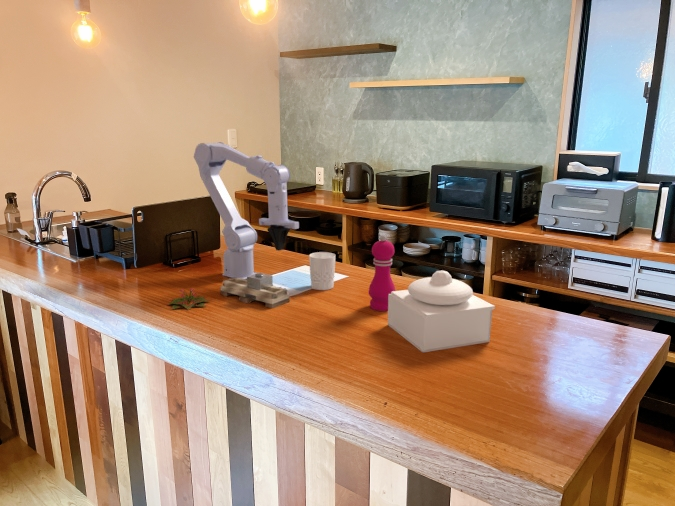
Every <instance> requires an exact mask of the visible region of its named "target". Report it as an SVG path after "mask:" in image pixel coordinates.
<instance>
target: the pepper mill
mask: <svg viewBox="0 0 675 506" xmlns="http://www.w3.org/2000/svg"><path fill="white" fill-rule="evenodd" d="M379 239H380V240H378V241H376V242H375V243H373V245H372V247H371V254H372V256H373V257H374V258H373V265H374V268H375V270H374V275H373V278H372V280H371V282H370V284H369V288H368V296H369V297H370V298H371V299H370V300H369V307H370V309H372V310H374V311H379V312H386V311H387V312H388V296H389V294H391V292H392V291H396V286H395V284H394V282H393V279H392V276H391V266H392V265H393V256H394V255H395V246H394V244H393V243H392V242H390V241H389V240H387V239H388V238H387V235H386V234H382V235H380V238H379Z"/></svg>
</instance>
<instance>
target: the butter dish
mask: <svg viewBox="0 0 675 506" xmlns="http://www.w3.org/2000/svg"><path fill="white" fill-rule="evenodd" d="M495 309H496V305H494V304H492V303H489V302H488V301H486V300H484V299H482V298H480V297H478V296H476V295H474V291H473V288H472V287H471V286H470V285H469V284H467V283H465V282H463V281H461V280H458V279H456V278H452V275H451V274H450V273H449V272H448V271H446V270H443V269H442V270H436V271H435V272H434V273H433V274H432V276H427V277H424V278H419V279H417V280H413V281H412V282H411V283H410V284H409V285H408V287H407V289H403V290H402V289H401V290H395V291H392V292H391V294H389V296H388V310H387V326H389V328H390V329H392V330H394V331H395V332H396V333H398V334H399V335H400V336H401V337H403V339H405V340H406V341H407V342H408V343H409V344H412V345H413V346H414V347H415V348H417V349H418V350H419V351H420V352H421V353H428V352H434V351H439V350H440V351H441V350H446V349H453V348H460V347H466V346H472V345H477V344H478V345H479V344H484V343H490V341H491V329H492V319H493V317H492V316H493V310H495Z"/></svg>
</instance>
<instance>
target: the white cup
mask: <svg viewBox="0 0 675 506" xmlns="http://www.w3.org/2000/svg"><path fill="white" fill-rule="evenodd" d="M308 257H309V259H308V261H309V273H310V274H309V276H310V287H311V289H313V290H317V291H327V290H331V289H333V288H334V287H335V286H334V282H335V273H336V272H335V269H336V254H335V253H332V252H328V251H319V252H318V251H317V252H312V253H310V254H309V255H308Z"/></svg>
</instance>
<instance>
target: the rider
mask: <svg viewBox="0 0 675 506" xmlns="http://www.w3.org/2000/svg"><path fill="white" fill-rule="evenodd" d="M255 273H256V274H253V275H250V276H247V279H246V280H247V287H250V288H254V289H258V290H262V289H263V290H267V288H268V287H271V286H274V285H273V282H274V281H273V275H271V274H267V273H263V272H255ZM267 291H268V290H267Z"/></svg>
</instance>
